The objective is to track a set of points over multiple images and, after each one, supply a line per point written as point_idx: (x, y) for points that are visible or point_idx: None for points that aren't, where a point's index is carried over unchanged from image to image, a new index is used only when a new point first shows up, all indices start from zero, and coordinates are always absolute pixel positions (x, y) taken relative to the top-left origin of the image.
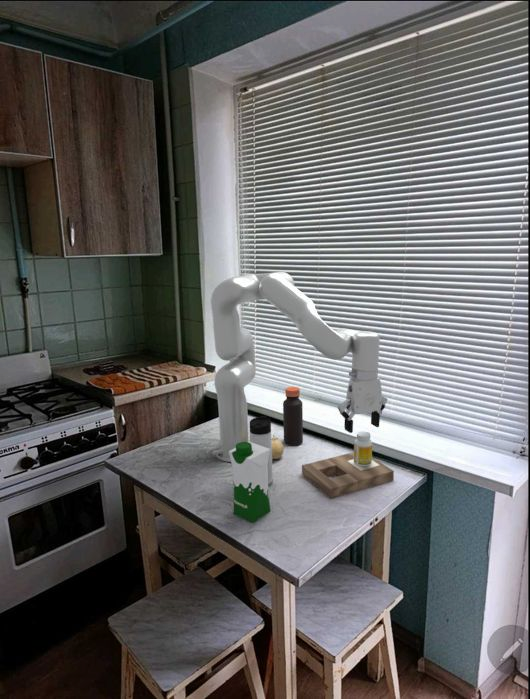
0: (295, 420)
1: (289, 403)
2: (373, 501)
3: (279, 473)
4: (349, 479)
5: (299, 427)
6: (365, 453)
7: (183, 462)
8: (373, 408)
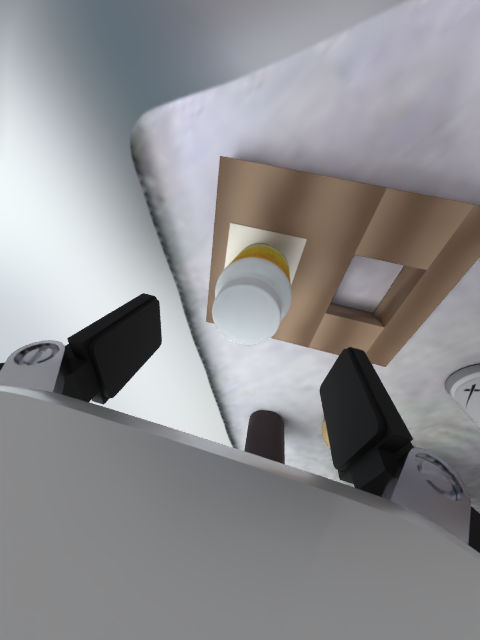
0: None
1: None
2: (416, 74)
3: (402, 380)
4: (392, 220)
5: (264, 448)
6: (275, 257)
7: None
8: (45, 480)
